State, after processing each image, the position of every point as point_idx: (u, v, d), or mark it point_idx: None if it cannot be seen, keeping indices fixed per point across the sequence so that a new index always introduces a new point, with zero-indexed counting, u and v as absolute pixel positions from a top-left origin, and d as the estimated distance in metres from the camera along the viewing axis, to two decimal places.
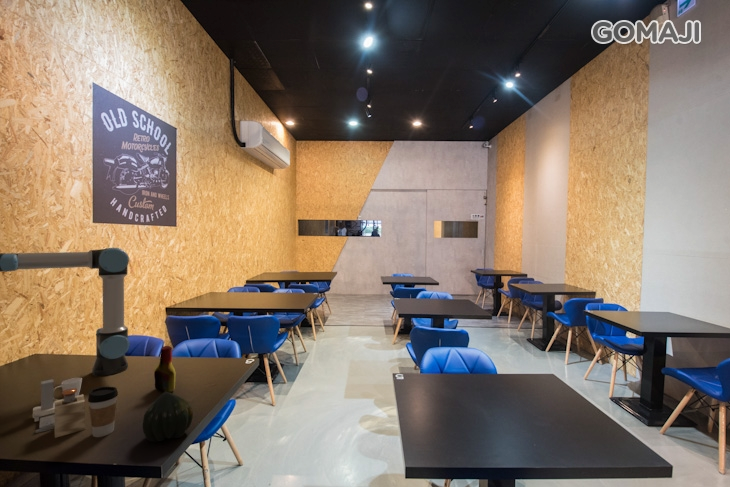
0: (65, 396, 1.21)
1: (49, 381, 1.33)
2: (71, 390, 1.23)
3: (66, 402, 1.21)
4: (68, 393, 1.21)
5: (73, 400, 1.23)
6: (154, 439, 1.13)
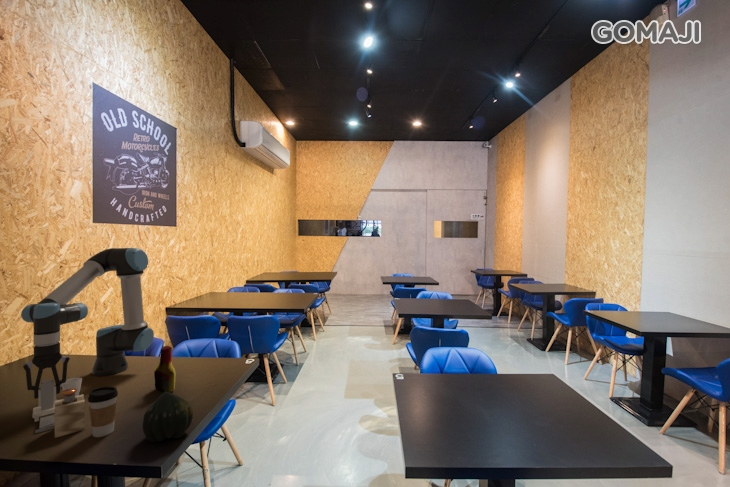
0: (65, 396, 1.21)
1: (49, 381, 1.33)
2: (71, 390, 1.23)
3: (66, 402, 1.21)
4: (68, 393, 1.21)
5: (73, 400, 1.23)
6: (154, 439, 1.13)
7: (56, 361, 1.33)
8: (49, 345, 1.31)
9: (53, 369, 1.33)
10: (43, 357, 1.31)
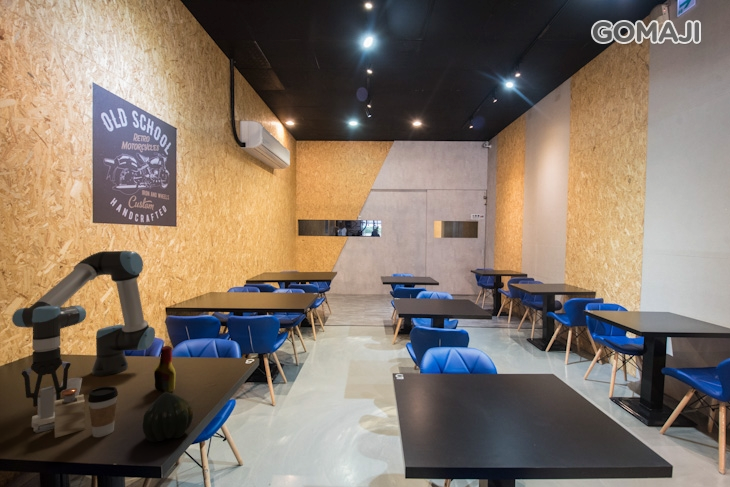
0: (65, 396, 1.21)
1: (49, 388, 1.26)
2: (71, 390, 1.23)
3: (66, 402, 1.21)
4: (68, 393, 1.21)
5: (73, 400, 1.23)
6: (154, 439, 1.13)
7: (56, 367, 1.27)
8: (49, 350, 1.24)
9: (53, 375, 1.26)
10: (43, 363, 1.24)
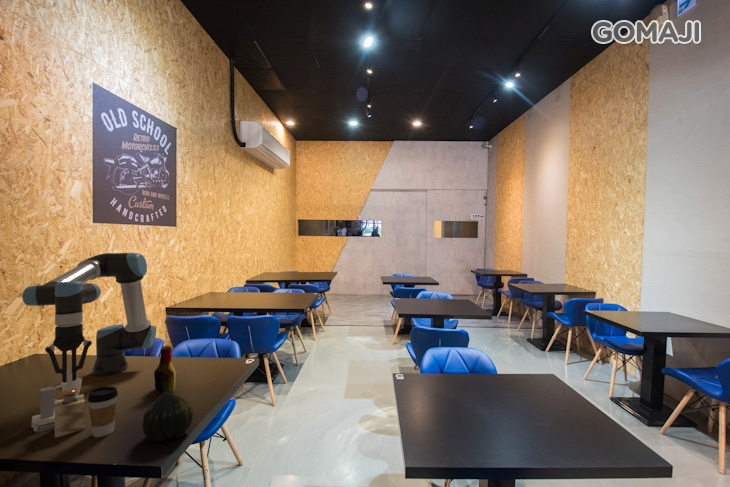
0: (65, 396, 1.21)
1: (49, 388, 1.26)
2: None
3: (66, 402, 1.21)
4: (68, 393, 1.21)
5: (73, 400, 1.23)
6: (154, 439, 1.13)
7: (79, 343, 1.24)
8: (72, 326, 1.21)
9: (73, 352, 1.22)
10: (64, 338, 1.21)
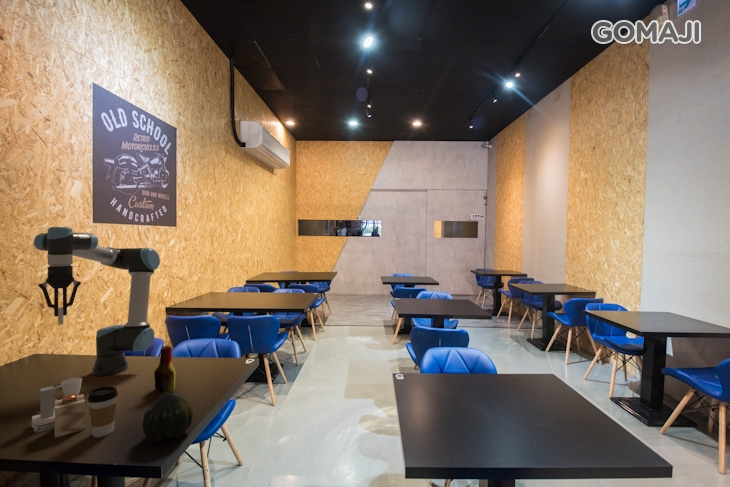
0: (65, 402, 1.21)
1: (49, 388, 1.26)
2: (71, 396, 1.23)
3: None
4: (68, 399, 1.21)
5: None
6: (154, 439, 1.13)
7: (69, 283, 1.38)
8: (62, 266, 1.36)
9: (64, 290, 1.37)
10: (56, 277, 1.36)
